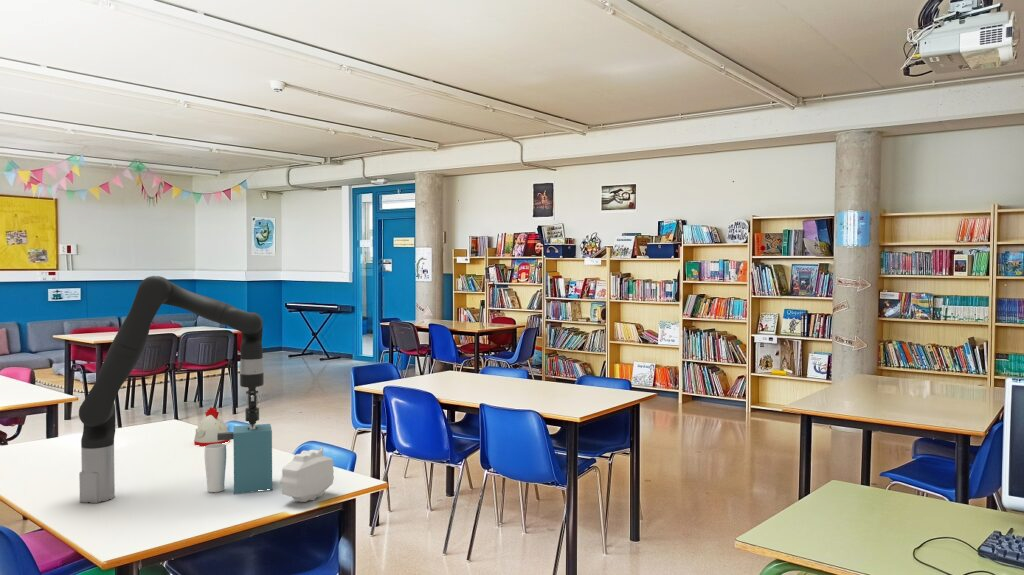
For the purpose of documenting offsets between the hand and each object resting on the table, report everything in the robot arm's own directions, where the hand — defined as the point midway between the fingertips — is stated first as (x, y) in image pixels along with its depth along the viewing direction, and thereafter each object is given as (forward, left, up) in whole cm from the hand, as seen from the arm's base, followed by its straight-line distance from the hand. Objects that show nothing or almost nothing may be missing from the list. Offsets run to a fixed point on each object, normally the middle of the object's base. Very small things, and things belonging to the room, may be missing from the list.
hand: (252, 422), depth 253 cm
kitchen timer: (+56, +51, -22) cm, 79 cm away
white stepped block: (-9, -24, -22) cm, 34 cm away
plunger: (0, 0, -10) cm, 10 cm away
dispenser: (-1, +2, -22) cm, 22 cm away
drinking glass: (-6, +10, -22) cm, 25 cm away
